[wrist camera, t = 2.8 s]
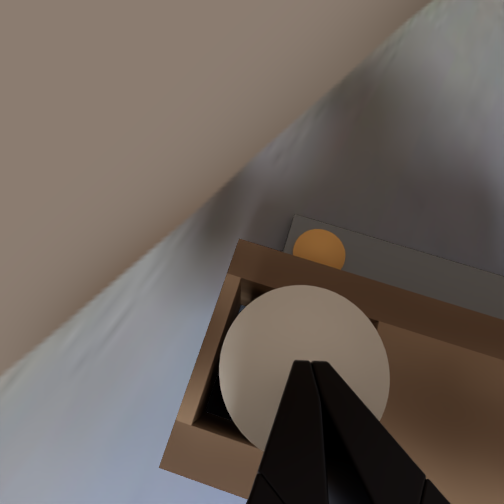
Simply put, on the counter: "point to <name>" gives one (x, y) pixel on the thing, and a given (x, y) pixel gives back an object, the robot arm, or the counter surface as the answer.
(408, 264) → the pattern card
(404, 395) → the button console
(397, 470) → the robot arm
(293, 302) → the beige cylinder
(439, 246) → the counter surface
